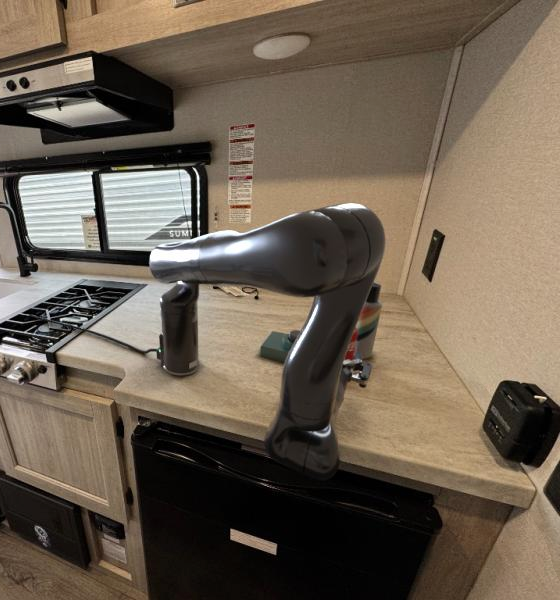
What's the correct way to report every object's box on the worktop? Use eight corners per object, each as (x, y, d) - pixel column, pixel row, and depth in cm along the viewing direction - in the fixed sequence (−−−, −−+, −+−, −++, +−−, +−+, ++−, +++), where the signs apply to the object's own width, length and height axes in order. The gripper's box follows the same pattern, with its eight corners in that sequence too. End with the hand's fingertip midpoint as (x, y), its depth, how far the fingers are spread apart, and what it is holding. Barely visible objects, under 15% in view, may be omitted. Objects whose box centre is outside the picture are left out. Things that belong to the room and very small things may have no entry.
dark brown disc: (287, 341, 85) (287, 335, 84) (291, 335, 88) (291, 328, 87) (303, 345, 83) (303, 338, 82) (306, 338, 86) (307, 332, 85)
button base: (259, 355, 88) (260, 339, 86) (271, 340, 95) (272, 325, 94) (306, 368, 81) (308, 351, 79) (315, 350, 89) (317, 334, 87)
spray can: (349, 345, 90) (361, 277, 82) (373, 351, 86) (387, 281, 79) (344, 354, 86) (356, 284, 78) (369, 361, 82) (384, 288, 75)
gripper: (369, 383, 56) (376, 343, 68) (285, 361, 64) (304, 328, 76) (361, 417, 59) (369, 372, 71) (282, 392, 67) (301, 355, 79)
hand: (336, 350), depth 74 cm, fingers open, 8 cm apart
